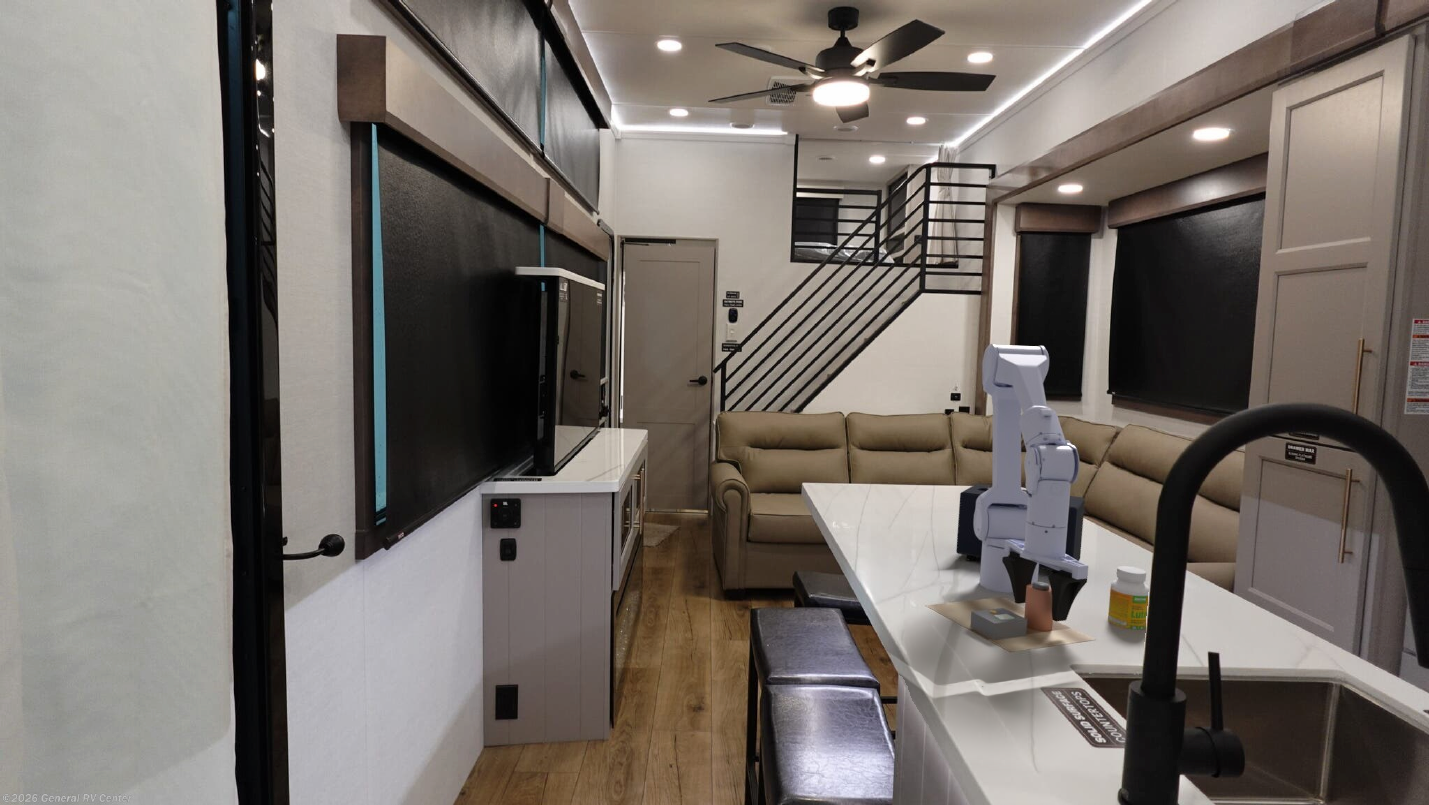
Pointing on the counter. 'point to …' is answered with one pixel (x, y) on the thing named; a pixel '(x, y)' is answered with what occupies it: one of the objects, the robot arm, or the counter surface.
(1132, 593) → the supplement bottle
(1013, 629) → the block
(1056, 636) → the board
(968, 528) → the speaker
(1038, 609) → the peg
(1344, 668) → the counter surface
